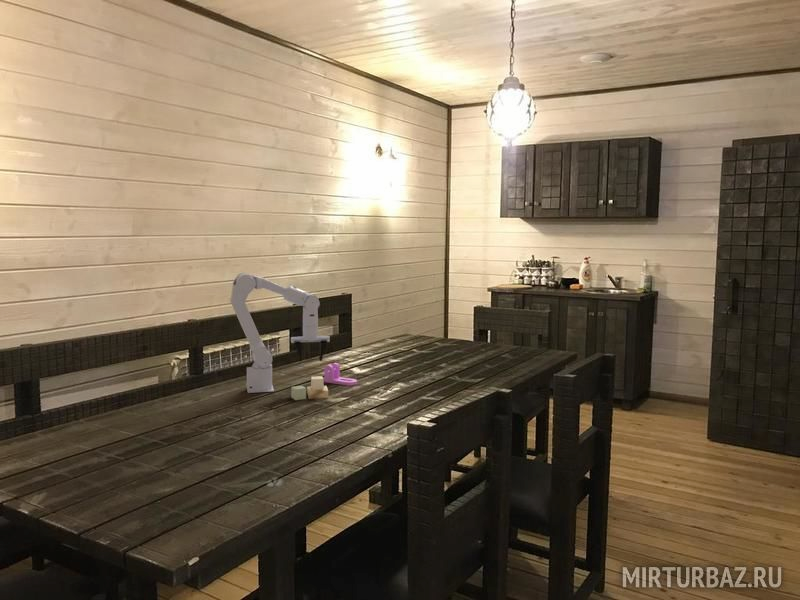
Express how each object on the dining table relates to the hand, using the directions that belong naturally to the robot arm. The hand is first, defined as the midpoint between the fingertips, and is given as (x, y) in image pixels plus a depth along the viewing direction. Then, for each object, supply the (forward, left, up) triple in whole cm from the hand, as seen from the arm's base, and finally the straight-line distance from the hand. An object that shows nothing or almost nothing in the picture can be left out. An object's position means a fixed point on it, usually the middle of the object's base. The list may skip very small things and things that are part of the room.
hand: (310, 360), depth 243 cm
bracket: (+13, +3, -10) cm, 17 cm away
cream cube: (+1, -14, -7) cm, 16 cm away
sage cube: (-6, -16, -10) cm, 20 cm away
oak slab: (+1, -14, -10) cm, 17 cm away
